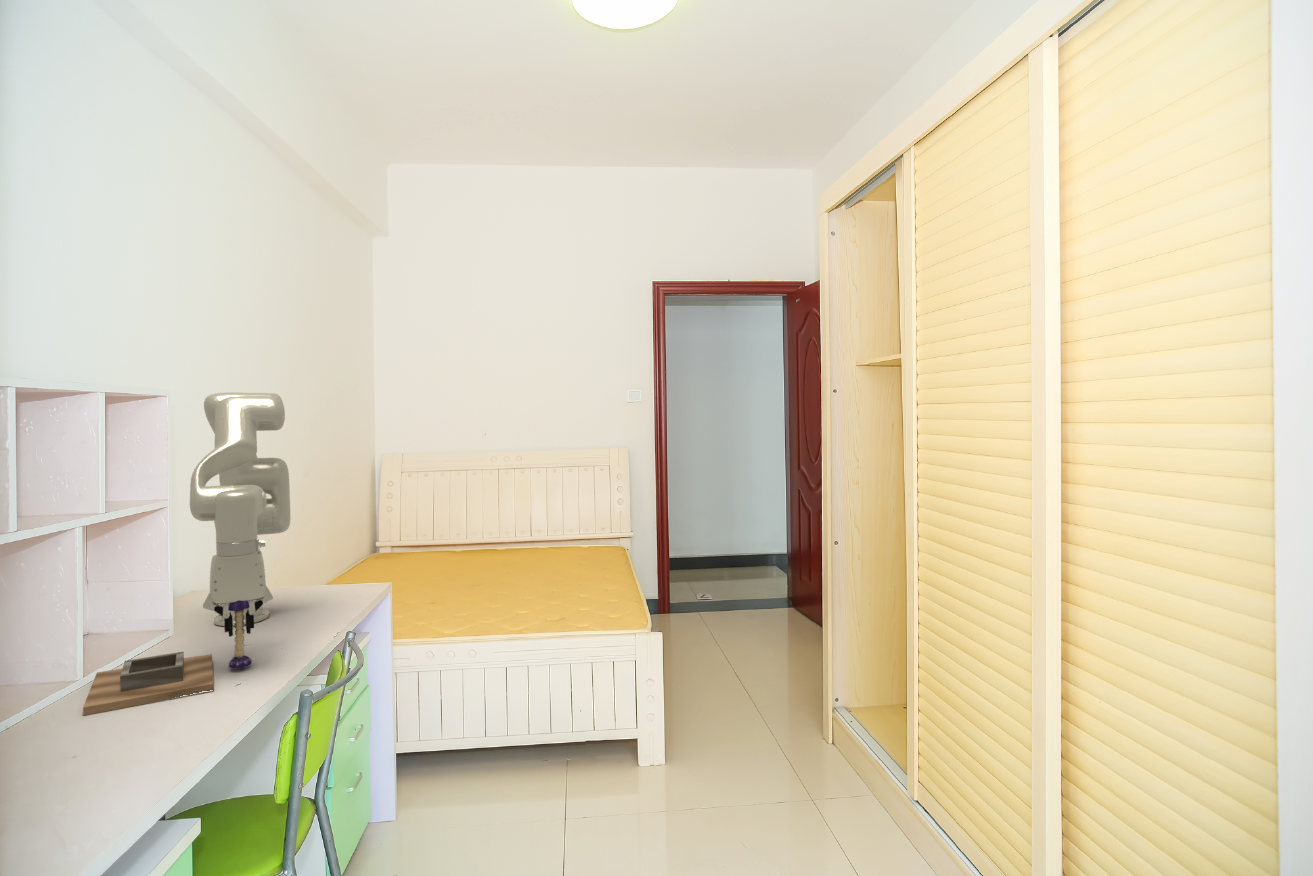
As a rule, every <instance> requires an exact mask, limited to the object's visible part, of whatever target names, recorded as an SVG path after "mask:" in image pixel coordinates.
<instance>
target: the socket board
mask: <svg viewBox="0 0 1313 876" xmlns="http://www.w3.org/2000/svg"><path fill="white" fill-rule="evenodd" d="M184 653H185V652H184V651H178V652H173V653H172V652H170V653H167V654H160V655H153V656H147V657H141V658H140V657H139V658H134V659H128V660H124V663H123V665H122V668H117V669H109V670H104V671H99V672H98V671H97V672H96V673H95V676H94V679H93V681H92V684H91V686H90V689H89V692H88V695H87V697H86V699H85V701H84V704H83V707H82V711H83V712H82V713H83V716H84V717H85V716H91V715H94V714H99V713H104V712H105V713H106V712H111V711H116V710H120V709H121V710H122V709H126V708H132V707H135V706H137V705H138V706H143V705H147V704H153V703H159V702H163V701H168V700H167V699H170V700H173V699H172V698H175V697H180V696H183V695H190V694H193V693H199V692H202V691H210V690H213V691H214V673H213V672H214V670H213V666H214V665H213V653H209V654H202V655H197V656H191V657H184V655H185V654H184ZM180 698H181V697H180ZM175 699H176V698H175Z"/></svg>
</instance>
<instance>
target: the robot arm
mask: <svg viewBox="0 0 1313 876" xmlns="http://www.w3.org/2000/svg"><path fill="white" fill-rule="evenodd" d="M283 402H284V401H283V399H282V397H281V396H280V395H279V394H278V393H274V392H273V393H272V392H218V393H213V394H210V395H208V396H206V397H205V399H204V402H203V409H204V414H205V417H206V420H207V422H208V424H209V426H210V427H211V430H212V431H213V434H214V449H212V450H210V452H209V453H207V454H206V455H205V456H204V457H203V458H202V459H201V460H200V461H199V462H198V463H197V465H196V466H195V468H194V470H193V472H192V474H191V477H190V485H189V486H190V487H189V489H190V490H189V491H190V492H189V509H190V510H189V511H190V513H191V515H192V517H193V518H194V519H195V520H197V521H199V522H213V523H214V527H215V546H216V548H215V549H216V550H215V552H216V554H214V555H212V558H211V564H210V568H209V569H210V570H209V571H210V572H209V592H208V595H207V596H206V598H205V600H204V602H203V604H202V607H203V609H204V610H209V611H213V612H215V613H217V614H218V615H216V616H215V617H214V618H213V623H214V625H216V626H221V627H224V633H228V637H229V638H230V637H232V636H234V631H233V629H234V628H233V627H235V623H236V622H235V616H236V615H235V613H234V611H229V610H228V607H229V604H230V603H233V602H236V601H238V600H241V601H248V603H249V606H250V607H249V608H248V609H244V613H243V615H244V620H243V622H244V626H245V631H246V634H251V632H252V631H251V629H255V623H258V622H261V621H263V620H266V619H267V618H269V616H270V611H269V610H268V609H266V608H263V605H264V604H267V603H268V602H270V601H272V600H273V599H274V597H273V594H272V593H271V591H270V589H269V588H268V587H267V582H266V572H265V571H266V570H265V564H264V556H263V554H262V551H261V549H260V548H262V547H266V540H261V539H259V538H258V536H263V535H273V534H281V533H285V532H287V531H288V529H289V527H290V525H291V495H290V494H291V491H290V473H289V468H288V465H287V463H286V461H285V460H283V459H282V458H278V457H258V456H257V453H258V442H257V441H258V439H257V432H258V431H259V432H261V431H263V432H264V431H266V432H267V431H269V432H270V431H279V430H282V428H283V426H284V423H285V420H286V412H285V411H286V410H285V405H284V403H283ZM217 475H218V479H219V485H211V486H210V485H209V486H206V484H207V483H208V482H209V481H210V480H211V479H212V478H214V477H215V476H217ZM267 495H269V496H270V497H271V498H267Z"/></svg>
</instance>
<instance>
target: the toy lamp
mask: <svg viewBox="0 0 1313 876" xmlns="http://www.w3.org/2000/svg"><path fill="white" fill-rule="evenodd" d="M249 607H250V606H249V603H248V601H241V600H238V601H236V602H233V603H230V604H229V607H228V610H229V611H234V613H235V615H236V616H235V622H236V623H235V626H234V628H235V629H234V630H235V631H234V635H235V637H234V642H235V645H234V650H235V653H234V657H232V658H231V660H230V661H229V663H228V668H230V669H234V670H235V669H237V670H238V669H242V668H243V669H244V668H247V667H249V666H250V665H252V664H253V663H252V659H251V657H249V656H248V655H245V650H244V649H245V642H244V641H245V629H244V627H245V625H244V622H243V620H244V615H243V613H244V609H248V608H249Z"/></svg>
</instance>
